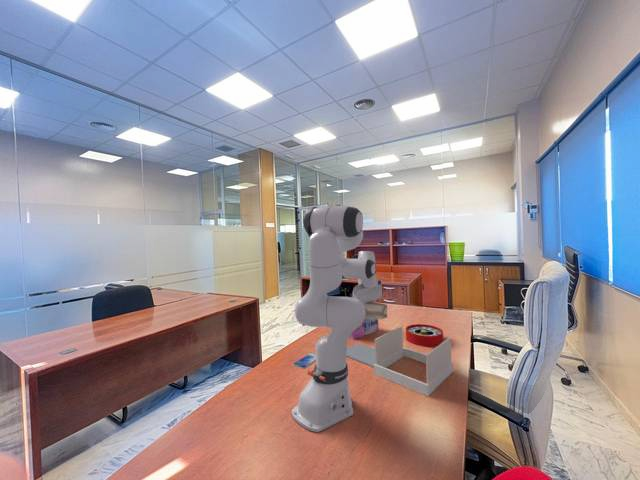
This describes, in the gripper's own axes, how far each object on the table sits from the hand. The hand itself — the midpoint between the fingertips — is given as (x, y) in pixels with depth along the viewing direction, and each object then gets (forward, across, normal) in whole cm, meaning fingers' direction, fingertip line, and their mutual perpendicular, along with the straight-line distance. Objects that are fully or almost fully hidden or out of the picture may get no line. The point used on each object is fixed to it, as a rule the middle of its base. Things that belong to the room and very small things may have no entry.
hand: (368, 310), depth 133 cm
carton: (+23, 0, -24) cm, 33 cm away
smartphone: (+24, -24, +19) cm, 39 cm away
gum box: (+24, +23, +22) cm, 40 cm away
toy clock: (+24, +38, -10) cm, 46 cm away
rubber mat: (+23, 0, +2) cm, 23 cm away
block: (+2, 0, 0) cm, 2 cm away
